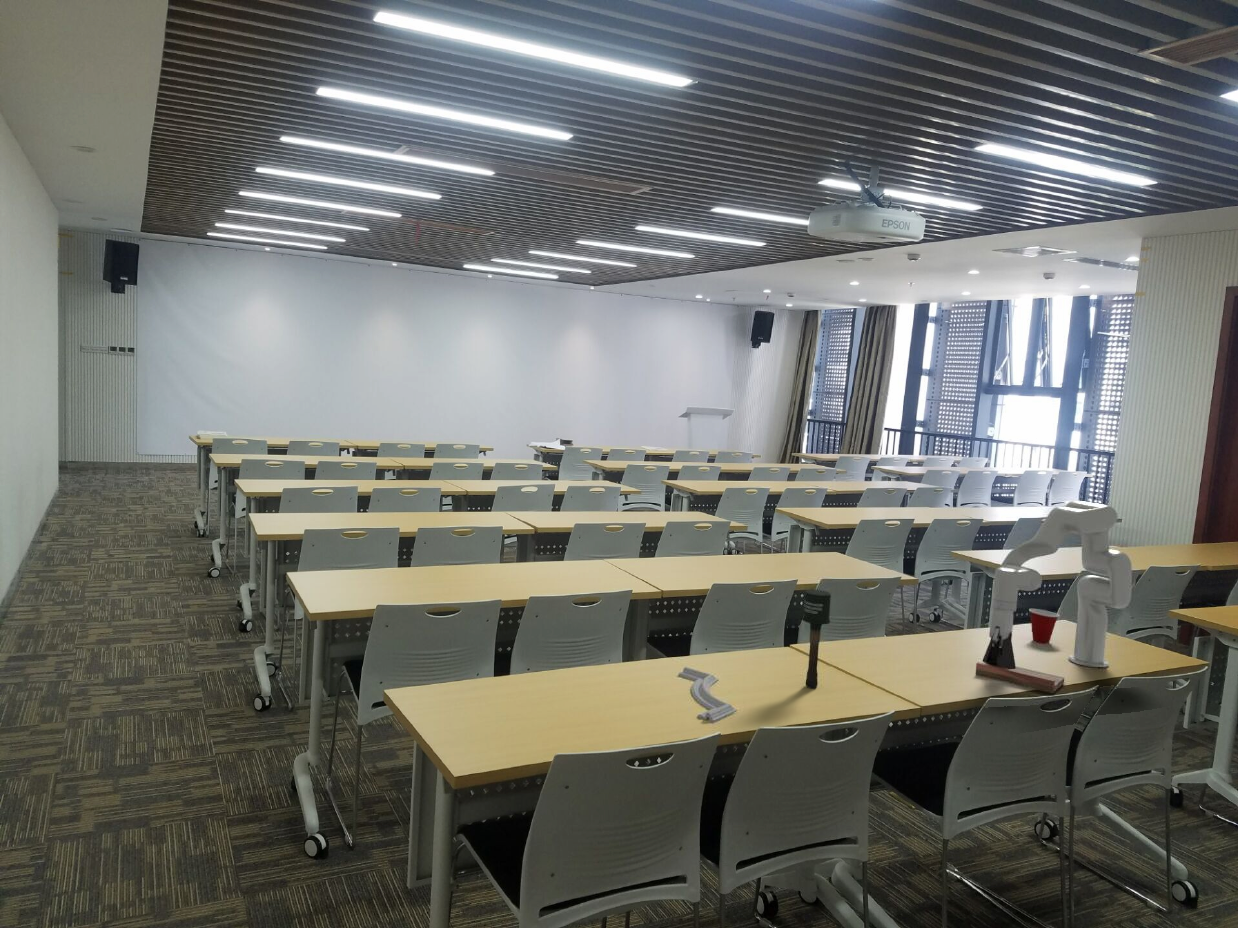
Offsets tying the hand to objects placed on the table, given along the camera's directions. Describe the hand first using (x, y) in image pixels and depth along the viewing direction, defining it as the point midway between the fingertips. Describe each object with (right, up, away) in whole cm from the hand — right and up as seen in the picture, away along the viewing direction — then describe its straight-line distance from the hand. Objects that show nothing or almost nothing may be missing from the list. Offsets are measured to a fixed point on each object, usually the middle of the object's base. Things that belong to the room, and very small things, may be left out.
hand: (999, 656), depth 293 cm
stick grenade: (-69, -4, -23) cm, 73 cm away
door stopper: (0, -3, 0) cm, 3 cm away
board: (+5, -7, -4) cm, 9 cm away
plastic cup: (+36, -4, +45) cm, 58 cm away
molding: (-105, -4, -36) cm, 111 cm away
